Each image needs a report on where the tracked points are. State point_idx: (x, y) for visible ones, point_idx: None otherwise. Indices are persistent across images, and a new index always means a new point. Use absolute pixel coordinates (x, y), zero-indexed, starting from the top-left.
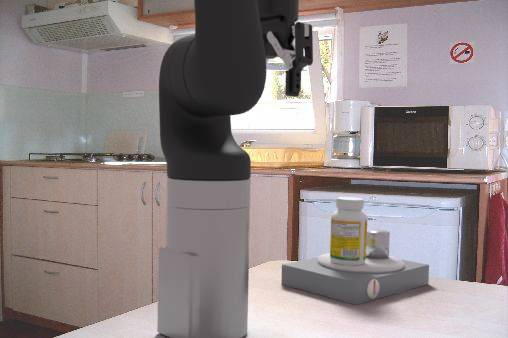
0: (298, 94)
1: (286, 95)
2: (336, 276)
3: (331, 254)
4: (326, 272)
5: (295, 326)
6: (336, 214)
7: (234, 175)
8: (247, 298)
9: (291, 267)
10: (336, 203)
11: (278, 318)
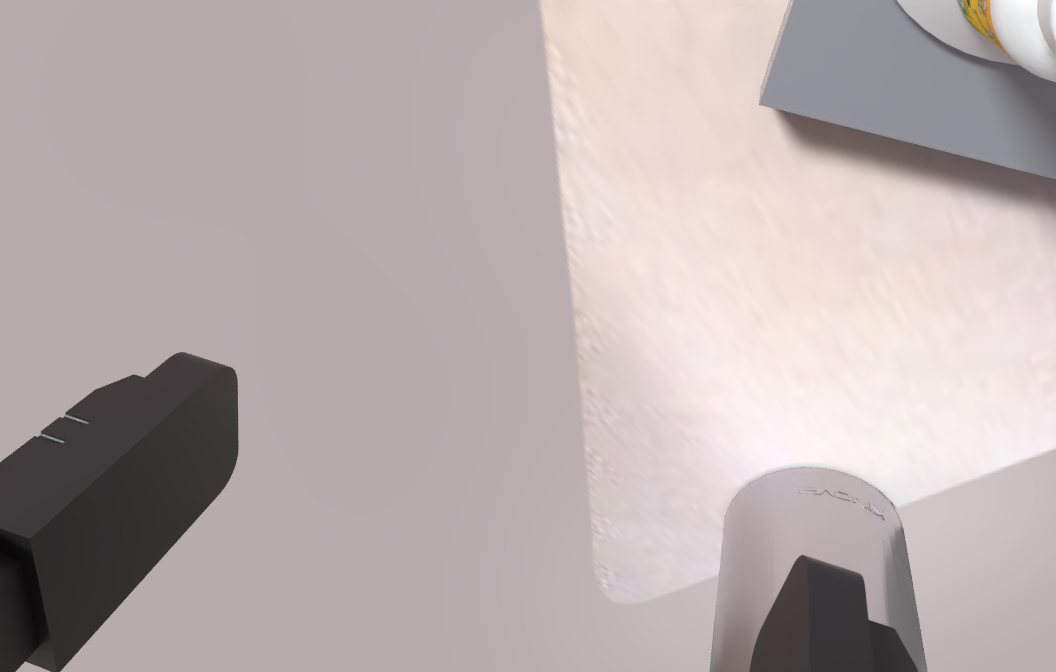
0: (861, 585)
1: (757, 644)
2: (1035, 160)
3: (976, 29)
4: (977, 124)
5: (984, 429)
6: (1045, 69)
7: None
8: (909, 573)
9: (810, 116)
10: (1048, 42)
11: (917, 398)
